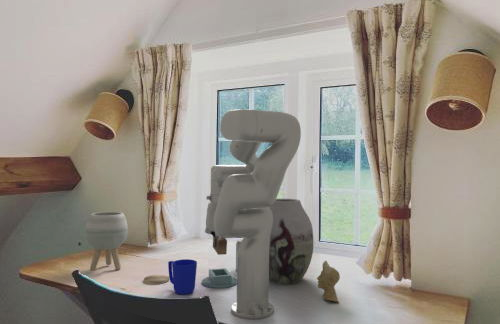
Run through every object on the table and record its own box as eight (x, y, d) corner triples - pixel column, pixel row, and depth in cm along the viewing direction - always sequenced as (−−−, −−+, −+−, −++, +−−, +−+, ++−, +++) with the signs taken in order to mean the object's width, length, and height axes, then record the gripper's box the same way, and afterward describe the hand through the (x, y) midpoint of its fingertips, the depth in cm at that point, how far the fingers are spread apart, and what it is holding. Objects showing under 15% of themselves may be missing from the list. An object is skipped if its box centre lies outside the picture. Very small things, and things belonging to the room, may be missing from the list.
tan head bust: (338, 305, 115) (339, 266, 115) (315, 303, 117) (315, 264, 117) (339, 296, 123) (340, 260, 123) (318, 294, 125) (318, 258, 125)
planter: (109, 261, 164) (110, 210, 164) (135, 266, 156) (136, 213, 156) (76, 270, 150) (77, 214, 151) (102, 276, 142) (103, 217, 142)
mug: (178, 284, 134) (178, 256, 134) (201, 291, 127) (202, 262, 127) (159, 289, 128) (159, 260, 128) (182, 298, 120) (183, 266, 120)
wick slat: (220, 246, 143) (226, 254, 134) (212, 246, 142) (218, 254, 133) (221, 233, 143) (227, 240, 133) (213, 233, 142) (218, 240, 132)
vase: (263, 290, 128) (264, 202, 129) (250, 273, 149) (251, 197, 149) (321, 287, 132) (322, 202, 133) (301, 270, 153) (302, 197, 154)
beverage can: (249, 272, 151) (250, 242, 151) (234, 270, 152) (234, 241, 152) (252, 267, 157) (253, 239, 157) (237, 266, 158) (238, 238, 158)
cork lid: (170, 284, 135) (170, 280, 135) (144, 286, 133) (144, 282, 133) (168, 276, 144) (168, 273, 144) (143, 278, 141) (144, 275, 141)
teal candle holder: (241, 286, 133) (241, 276, 133) (205, 289, 129) (205, 279, 129) (232, 275, 145) (232, 266, 145) (199, 278, 141) (199, 268, 141)
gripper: (201, 200, 132) (200, 252, 132) (243, 199, 136) (242, 250, 136) (198, 198, 139) (197, 247, 139) (238, 197, 143) (237, 245, 143)
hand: (219, 248), depth 137 cm, fingers closed on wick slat
